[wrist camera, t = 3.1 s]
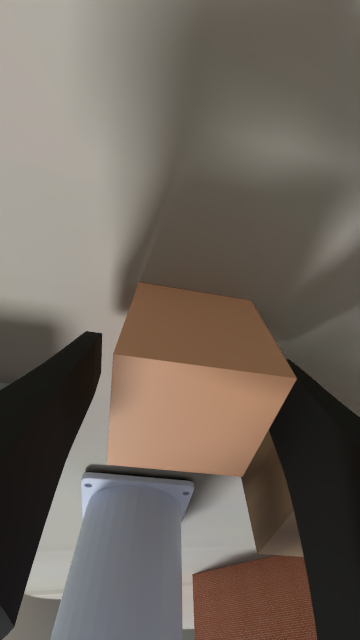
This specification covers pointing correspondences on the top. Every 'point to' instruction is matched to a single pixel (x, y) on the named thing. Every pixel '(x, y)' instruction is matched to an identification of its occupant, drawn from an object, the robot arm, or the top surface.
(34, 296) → the top surface
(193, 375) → the terracotta block
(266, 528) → the walnut block
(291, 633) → the house
